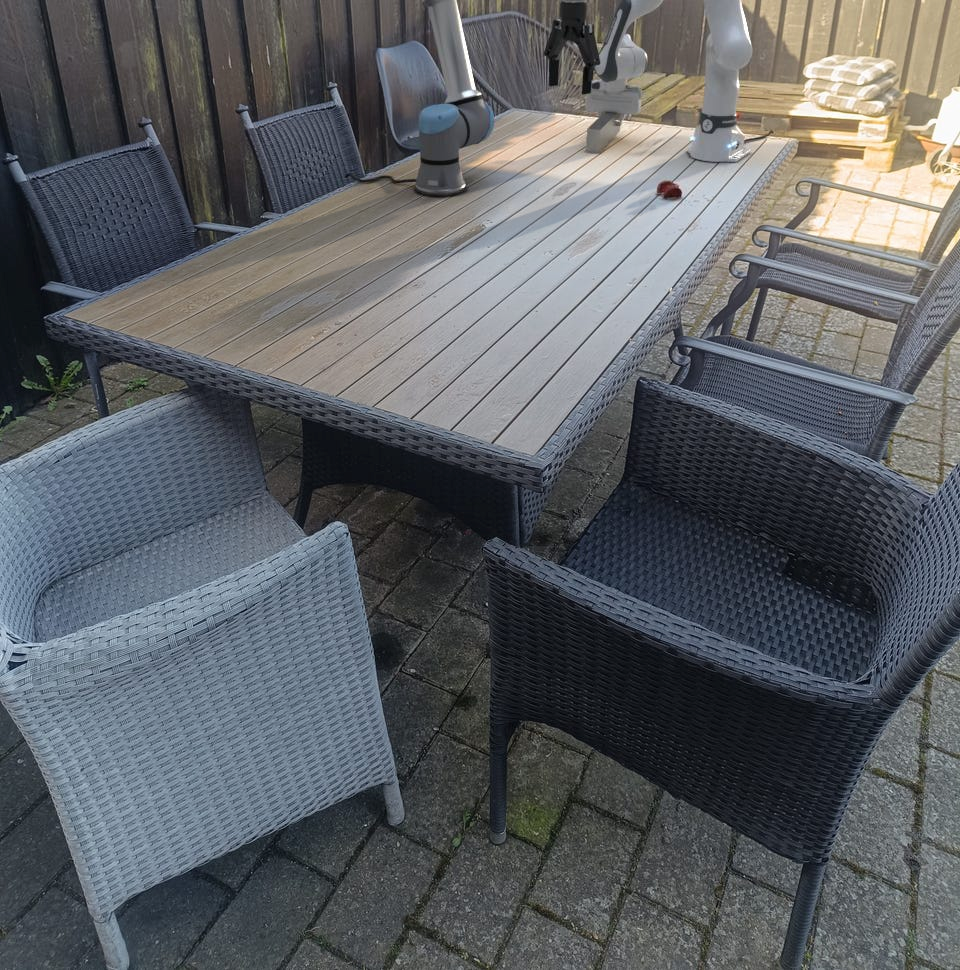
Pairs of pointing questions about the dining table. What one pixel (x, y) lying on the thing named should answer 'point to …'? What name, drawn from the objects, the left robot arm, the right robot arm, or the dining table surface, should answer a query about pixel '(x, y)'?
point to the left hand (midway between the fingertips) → (569, 89)
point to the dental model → (669, 189)
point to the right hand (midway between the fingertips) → (611, 125)
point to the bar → (602, 132)
